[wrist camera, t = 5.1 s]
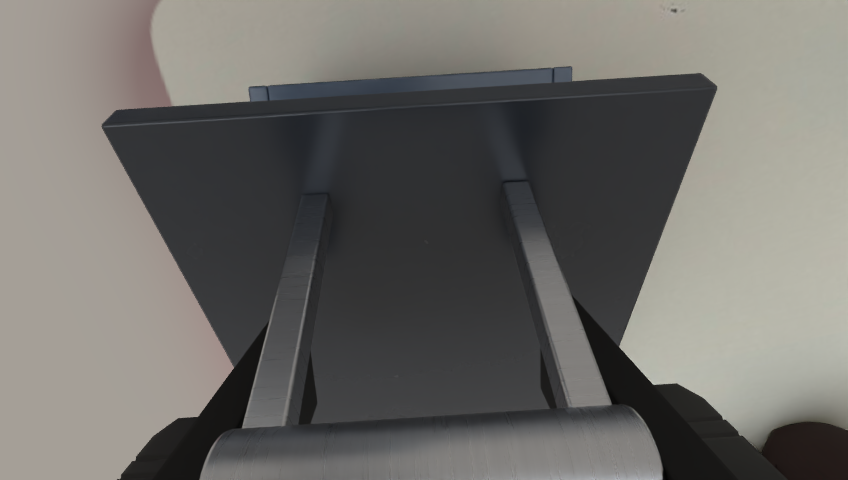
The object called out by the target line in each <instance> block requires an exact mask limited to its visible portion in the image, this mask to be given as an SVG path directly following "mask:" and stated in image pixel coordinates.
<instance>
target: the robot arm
mask: <svg viewBox="0 0 848 480" xmlns="http://www.w3.org/2000/svg"><path fill="white" fill-rule="evenodd" d="M571 296H572V298H573V301H574V304H575V306H576V309H577V312H578V314H579V317H580V320H581V322H582V325H583V328H584V331H585V333H586V336H587V339H588V341H589V344H590V347H591V349H592V352H593V355H594V357H595V360H596V363H597V365H598V368H599V371H600V374H601V376H602V379H603V382H604V384H605V387H606V390H607V392H608V395H609V398H610V400H611V403H612V405H615V404H623V405H627V406H629V407H631V408H633V409H634V410H635V411H636V412H637V413H638V414H639V415H640V416H641V418H642V419H643V420H644V422H645V423H646V425H647V427H648V429H649V431H650V432H651V434H652V437H653V439H654V441H655V444H656V446H657V449H658V451H659V454H660V457H661V460H662V464H663V468H664V471H665V476H666V480H788V479H787V478H786V477H785V476H784V475H783V474H781V473H780V472H779V471H778V470H777V469H776V468H775V467H774V466H773V465H772V464H771V463H770V462H769V461H768V460H767V459H766V458H765V457H764V456H763V455H762V454H761V453H760V452H759V451H758V450H757V449H756V448H754V447H753V446H752V445H751V444H750V443H749V442H748V441H747V440H746V439H745V438H744V437H743V436H739V434H738V431H737V430H736V429H735V428H734V427H733V426H732V425H731V424H730V423H729V422H727V421H726V420H723V419H722V416H721V415H720V414H719V413H718V412H717V411H716V410H715V409H714V408H713V407H712V406H711V405H710V404H709V403H708V402H707V401H706V400H705V399H704V398H702V397H700V396H699V395H697V394H695V393H693V392H691V391H689V390H688V389H686V388H684V387H682V386H680V385H678V384H662V385H653V384H652V383H651V382H650V381H649V380H648V379H647V378H646V376H645V375H644V374H643V373H642V372H641V371H640V370H639V369H638V368H637V366H636V365H635V364H634V363H633V362H632V361H631V360H630V359H629V358H628V356H627V355H626V354H625V353H624V352H623V351H622V350H621V349H620V348H619V347H618V345H617V344H616V343H615V342H614V341H613V340H612V339H611V338H610V337H609V335H608V334H607V333H606V332H605V331H604V330H603V329H602V328H601V327H600V325H599V324H598V323H597V322H596V321H595V320H594V319H593V318H592V317H591V315H590V314H589V313H588V312H587V311H586V310H585V309H584V308H583V307H582V305H581V304H580V303H579V302H578V301H577V300H576V299H575V298H574V297H573V295H572V294H571ZM269 321H270V320H269ZM269 321H268V323H267V324H266V325H265V327H264V328H263V329H262V331H261V332H260V333H259V335H258V336H257V338H256V339H255V340H254V342H253V343H252V344H251V346H250V347H249V348H248V350H247V351H246V353H245V354H244V355H243V357H242V358H241V359H240V361H239V362H238V363H237V365H236V366H235V367H234V369H233V370H232V372H231V373H230V374H229V376H228V377H227V378H226V380H225V381H224V382H223V384H222V385H221V387H220V388H219V389H218V391H217V392H216V393H215V395H214V396H213V397H212V399H211V400H210V402H209V403H208V404H207V406H206V407H205V408H204V410H203V411H202V412H201V414H200V416H198V417H191V418H178V419H177V420H175V421H174V422H172V423H171V424H170V425H168V426H167V427H165V428H164V429H163V430H161V431H160V432H159V433H157V434H156V435H154V436H153V437H152V438H151V440H150V441H149V442H148V443H147V444H146V446H145V447H144V448H143V449H142V450H141V452H140V453H139V454H138V455H137V456H136V461H132V462H131V464H130V465H129V466H128V467H127V468H126V470H125V471H124V472H123V473H122V474H121V479H117V480H199V479H200V475H201V472H202V469H203V466H204V463H205V460H206V458H207V455H208V453H209V451H210V449H211V447H212V446H213V444H214V442H215V441H216V440H217V438H218V437H219V436H220V435H221V434H223V433H224V432H226V431H228V430H231V429H240V428H242V426H243V422H244V418H245V414H246V410H247V406H248V402H249V398H250V395H251V391H252V387H253V383H254V379H255V375H256V371H257V367H258V364H259V360H260V356H261V352H262V348H263V344H264V340H265V336H266V333H267V329H268V325H269ZM540 388H541V391H542V393H543V395H544V397H545V399H546V401H547V403H548V406H549V408H550V409H553V408H557V406H556V402H555V398H554V395H553V391H552V387H551V384H550V380H549V377H548V373H547V369H546V366H545V362H544V358H543V355H542V351H541V347H540ZM316 406H317V395H316V388H315V380H314V373H313V365H312V358H311V351H310V356H309V362H308V368H307V374H306V380H305V386H304V393H303V399H302V405H301V411H300V417H299V423H298V425H303V424H311V421H312V418H313V415H314V412H315V409H316Z"/></svg>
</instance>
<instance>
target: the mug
mask: <svg viewBox="0 0 848 480" xmlns="http://www.w3.org/2000/svg"><path fill="white" fill-rule="evenodd" d="M762 455H763V456H764V457H765V458H766V459H767V460H768V461H769V462H770V463H771V464H772V465H773V466H774V467H775V468H776V469H777V470H778V471H779V472H780V473H781V474H783V475H784V476H785V477H786V478H787V479H788V480H848V430H845V429H842V428H839V427H836V426H833V425H830V424H825V423H817V422H804V423H796V424H791V425H788V426H784V427H781V428H779V429H776V430H773V431H772V433H771V435H770V436H769V438H768V440H767V442H766V444H765V446H764V449H763V452H762Z"/></svg>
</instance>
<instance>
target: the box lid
mask: <svg viewBox="0 0 848 480" xmlns="http://www.w3.org/2000/svg"><path fill="white" fill-rule="evenodd" d="M716 91H717V86H716V85H715V84H714V83H713V82H712V81H710V80H709V79H708V78H707V77H705V76H704V75H703V74H701V73H697V74H681V75H665V76H649V77H633V78H617V79H602V80H586V81H570V82H554V83H538V84H522V85H506V86H490V87H474V88H459V89H443V90H427V91H411V92H395V93H379V94H363V95H347V96H331V97H315V98H300V99H284V100H268V101H252V102H236V103H220V104H204V105H188V106H172V107H157V108H141V109H125V110H116V111H115V112H114V113H113V114H112V115H111V116H110V117H109V118H108V119H107V120H106V121H105V122H104V123H103V124H102V129H103V131H104V133H105V134H106V136H107V138H108V140H109V141H110V143H111V145H112V147H113V149H114V151H115V153H116V154H117V156H118V158H119V160H120V162H121V163H122V165H123V167H124V169H125V171H126V172H127V174H128V176H129V178H130V180H131V182H132V183H133V185H134V187H135V188H136V190H137V192H138V194H139V196H140V198H141V200H142V201H143V203H144V205H145V207H146V209H147V210H148V212H149V214H150V216H151V218H152V220H153V221H154V223H155V225H156V227H157V229H158V230H159V232H160V234H161V236H162V238H163V239H164V241H165V243H166V245H167V247H168V249H169V250H170V252H171V254H172V256H173V258H174V259H175V261H176V263H177V265H178V267H179V269H180V270H181V272H182V274H183V276H184V278H185V279H186V281H187V283H188V285H189V287H190V288H191V290H192V292H193V294H194V296H195V298H196V299H197V301H198V303H199V305H200V306H201V308H202V310H203V312H204V314H205V316H206V317H207V319H208V321H209V323H210V325H211V327H212V328H213V330H214V332H215V334H216V336H217V337H218V339H219V341H220V343H221V344H222V346H223V348H224V350H225V352H226V354H227V356H228V357H229V359H230V361H231V363H232V365H233V366H234V367H235V366H236V365H237V363H238V362H239V361H240V359H241V358H242V357H243V355H244V354H245V353H246V351H247V350H248V348H249V347H250V346H251V344H252V343H253V342H254V340H255V339H256V338H257V336H258V335H259V333H260V332H261V331H262V329H263V328H264V327H265V325H266V324H267V323H268V321H269V320H270V321H269V325H268V329H267V333H266V336H265V340H264V344H263V348H262V352H261V356H260V360H259V364H258V367H257V371H256V375H255V379H254V383H253V387H252V391H251V395H250V398H249V402H248V406H247V410H246V414H245V418H244V422H243V426H242V428H240V429H231V430H228V431H226V432H224V433H223V434H221V435H220V436H219V437H218V438H217V440H216V441H215V442H214V444H213V446H212V447H211V449H210V451H209V453H208V455H207V458H206V460H205V463H204V466H203V469H202V472H201V475H200V479H199V480H666V476H665V471H664V468H663V464H662V460H661V457H660V454H659V451H658V449H657V446H656V444H655V441H654V439H653V437H652V434H651V432H650V431H649V429H648V427H647V425H646V423H645V422H644V420H643V419H642V418H641V416H640V415H639V414H638V413H637V412H636V411H635V410H634V409H633V408H631V407H629V406H627V405H623V404H615V405H612V403H611V400H610V398H609V395H608V392H607V390H606V387H605V384H604V382H603V379H602V376H601V374H600V371H599V368H598V365H597V363H596V360H595V357H594V355H593V352H592V349H591V347H590V344H589V341H588V339H587V336H586V333H585V331H584V328H583V325H582V322H581V320H580V317H579V314H578V312H577V309H576V306H575V304H574V301H573V298H572V296H571V294H572V295H573V297H574V298H575V299H576V300H577V301H578V302H579V303H580V304H581V305H582V307H583V308H584V309H585V310H586V311H587V312H588V313H589V314H590V315H591V317H592V318H593V319H594V320H595V321H596V322H597V323H598V324H599V325H600V327H601V328H602V329H603V330H604V331H605V332H606V333H607V334H608V335H609V337H610V338H611V339H612V340H613V341H614V342H615V343H616V344H617V345H618V347H619V345H620V342H621V340H622V337H623V335H624V332H625V329H626V327H627V324H628V321H629V319H630V316H631V314H632V311H633V308H634V306H635V303H636V301H637V298H638V295H639V293H640V290H641V287H642V285H643V282H644V280H645V277H646V274H647V272H648V269H649V266H650V264H651V261H652V259H653V256H654V253H655V251H656V248H657V245H658V243H659V240H660V238H661V235H662V232H663V230H664V227H665V224H666V222H667V219H668V217H669V214H670V211H671V209H672V206H673V203H674V201H675V198H676V196H677V193H678V190H679V188H680V185H681V182H682V180H683V177H684V175H685V172H686V169H687V167H688V164H689V161H690V159H691V156H692V154H693V151H694V148H695V146H696V143H697V141H698V138H699V135H700V133H701V130H702V127H703V125H704V122H705V120H706V117H707V114H708V112H709V109H710V106H711V104H712V101H713V99H714V96H715V93H716ZM540 347H541V351H542V355H543V358H544V362H545V366H546V369H547V373H548V377H549V380H550V384H551V387H552V391H553V395H554V398H555V402H556V406H557V408H553V409H550V408H549V406H548V403H547V401H546V399H545V397H544V395H543V393H542V391H541V388H540ZM310 351H311V358H312V365H313V373H314V380H315V388H316V395H317V406H316V409H315V412H314V415H313V418H312V421H311V424H303V425H298V423H299V417H300V411H301V405H302V399H303V393H304V386H305V380H306V374H307V368H308V362H309V356H310Z"/></svg>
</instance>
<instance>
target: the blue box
mask: <svg viewBox="0 0 848 480" xmlns="http://www.w3.org/2000/svg"><path fill="white" fill-rule="evenodd" d="M570 81H572V67H571V66H569V67H554V68H539V69H523V70H507V71H491V72H475V73H459V74H443V75H427V76H412V77H396V78H380V79H364V80H348V81H332V82H316V83H300V84H284V85H270V86H252V87H249V96H250V102H252V101H268V100H284V99H300V98H315V97H331V96H347V95H363V94H379V93H395V92H411V91H427V90H443V89H459V88H474V87H490V86H506V85H522V84H538V83H554V82H570Z"/></svg>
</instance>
